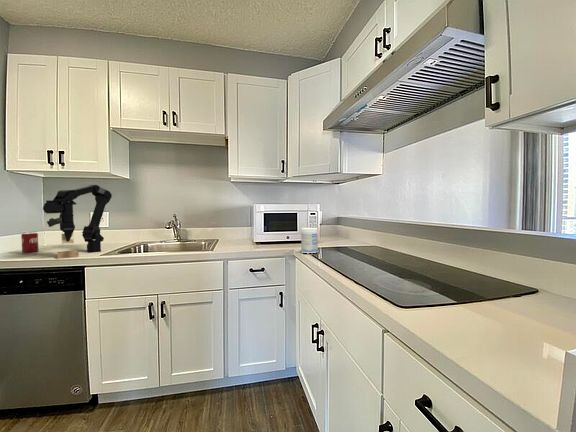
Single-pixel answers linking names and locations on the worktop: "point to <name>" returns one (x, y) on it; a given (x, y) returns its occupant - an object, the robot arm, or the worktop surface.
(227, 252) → the worktop surface
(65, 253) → the walnut block
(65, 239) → the oak cube
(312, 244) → the supplement tub
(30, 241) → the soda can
